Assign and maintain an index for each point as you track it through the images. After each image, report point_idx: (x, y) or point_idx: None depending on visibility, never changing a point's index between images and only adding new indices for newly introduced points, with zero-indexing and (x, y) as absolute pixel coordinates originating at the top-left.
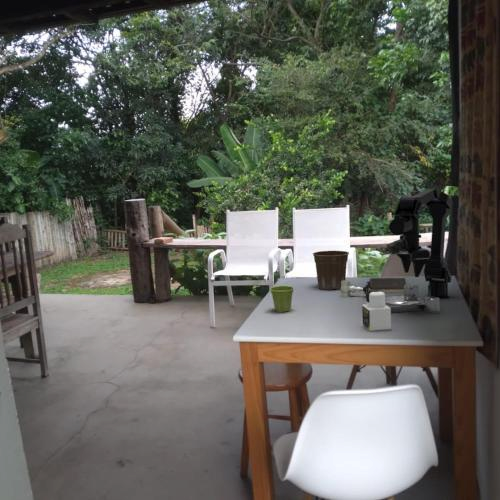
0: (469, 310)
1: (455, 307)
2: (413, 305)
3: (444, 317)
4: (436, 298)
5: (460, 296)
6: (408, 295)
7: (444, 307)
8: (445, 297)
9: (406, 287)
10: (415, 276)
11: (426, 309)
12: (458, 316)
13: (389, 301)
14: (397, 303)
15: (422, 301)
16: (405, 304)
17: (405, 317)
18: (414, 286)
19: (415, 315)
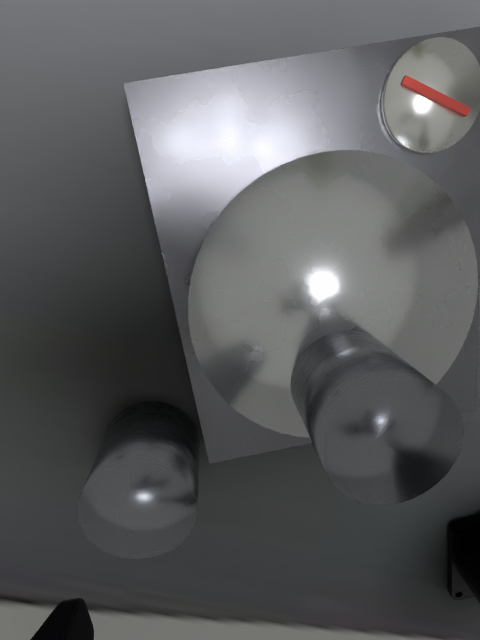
0: (156, 614)
1: (231, 571)
2: (185, 357)
3: (4, 477)
4: (115, 539)
5: (453, 634)
6: (313, 370)
7: (242, 524)
8: (449, 574)
9: (355, 391)
10: (54, 610)
11: (124, 420)
12: (28, 545)
13: (305, 188)
14: (217, 241)
15: (291, 440)
16: (187, 301)
17: (4, 243)
18: (354, 471)
19: (61, 325)
